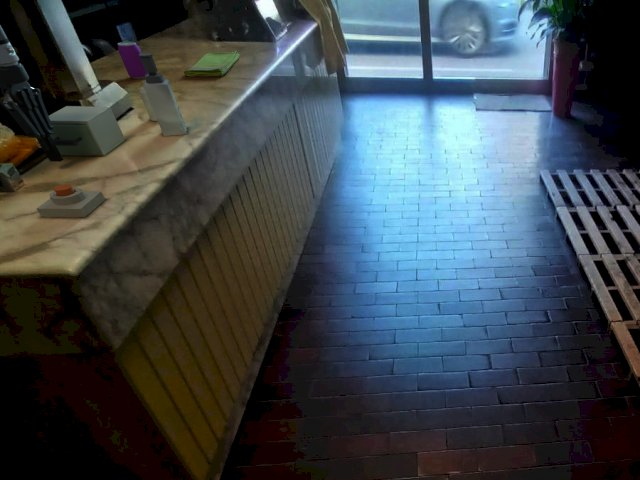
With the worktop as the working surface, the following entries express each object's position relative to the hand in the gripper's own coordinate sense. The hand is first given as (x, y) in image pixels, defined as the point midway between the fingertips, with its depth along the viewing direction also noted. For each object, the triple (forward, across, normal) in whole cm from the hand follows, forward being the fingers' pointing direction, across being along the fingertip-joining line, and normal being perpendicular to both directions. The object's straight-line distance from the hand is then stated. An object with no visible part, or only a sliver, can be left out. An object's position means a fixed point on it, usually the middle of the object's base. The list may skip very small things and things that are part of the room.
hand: (56, 160), depth 143 cm
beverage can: (+3, +98, +20) cm, 100 cm away
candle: (+3, +45, -9) cm, 46 cm away
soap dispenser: (+2, +33, -19) cm, 38 cm away
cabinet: (+2, +17, 0) cm, 17 cm away
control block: (+2, -25, -16) cm, 30 cm away
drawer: (+1, +13, 0) cm, 13 cm away
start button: (-1, -25, -16) cm, 30 cm away
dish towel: (+2, +118, -4) cm, 118 cm away
